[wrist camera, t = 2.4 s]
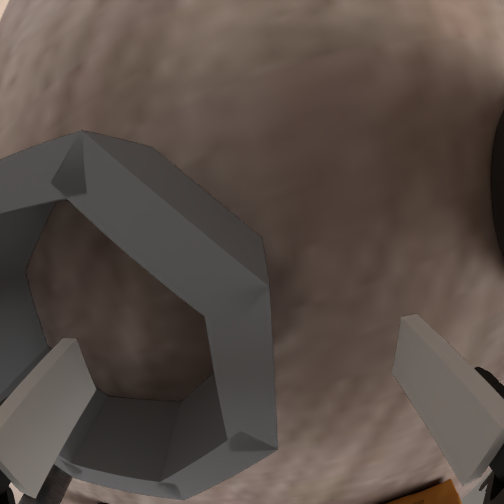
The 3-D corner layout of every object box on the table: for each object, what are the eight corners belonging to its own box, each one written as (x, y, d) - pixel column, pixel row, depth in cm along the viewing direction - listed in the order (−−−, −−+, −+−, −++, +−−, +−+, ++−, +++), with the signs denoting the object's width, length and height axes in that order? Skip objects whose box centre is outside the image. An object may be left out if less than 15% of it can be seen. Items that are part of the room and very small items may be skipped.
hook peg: (53, 408, 19) (-26, 531, 4) (112, 450, 20) (58, 585, 5) (40, 432, 20) (-22, 534, 5) (91, 468, 21) (45, 577, 6)
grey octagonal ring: (89, 97, 13) (10, 66, 7) (333, 298, 16) (377, 372, 10) (-8, 308, 17) (-63, 346, 10) (163, 448, 20) (144, 515, 13)
